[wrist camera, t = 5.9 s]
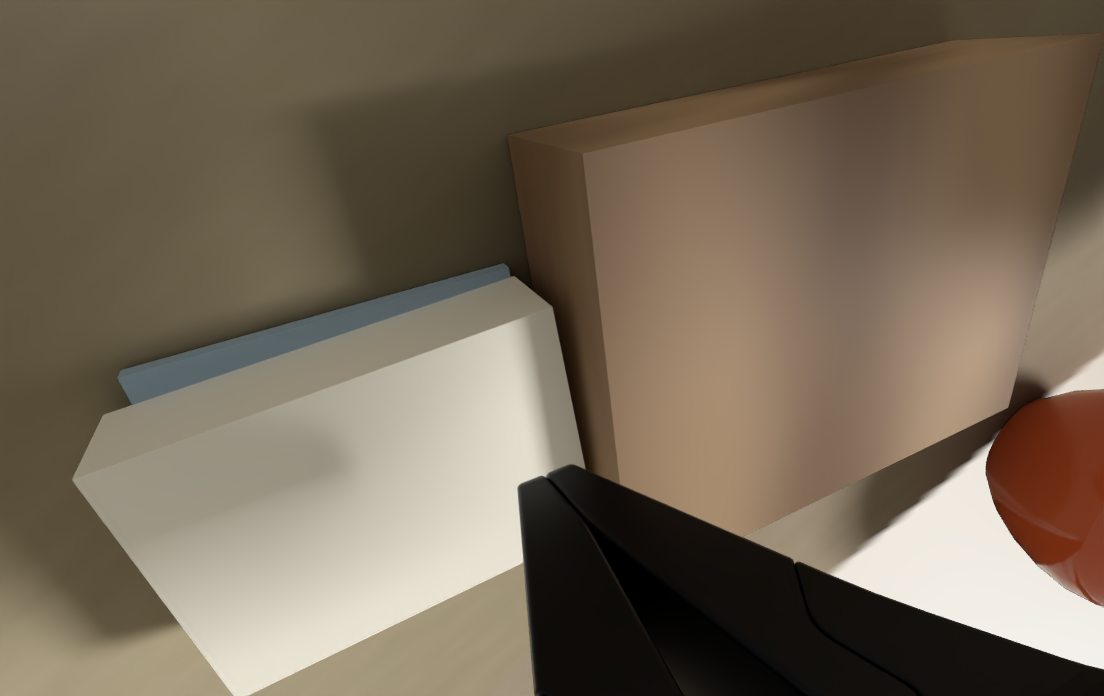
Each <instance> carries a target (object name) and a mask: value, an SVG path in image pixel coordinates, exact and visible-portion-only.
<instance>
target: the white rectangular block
mask: <svg viewBox="0 0 1104 696" xmlns="http://www.w3.org/2000/svg"><path fill="white" fill-rule="evenodd" d="M569 464H574V465H577V466H579V467H581V468H584V469H585V464H584V459H583V454H582V450H581V445H580V440H579V435H578V430H577V425H576V420H575V415H574V410H573V405H572V400H571V396H570V391H569V386H568V381H567V376H566V371H565V366H564V361H563V356H562V351H561V346H560V341H559V337H558V332H557V327H556V322H555V317H554V312H553V307H552V306H551V305H549V304H548V303H547V302H546V301H545V300H543V299H542V298H541V297H540V296H538V295H537V294H536V293H535V292H533V291H532V290H531V289H530V288H528V287H527V286H526V285H525V284H524V283H522V282H521V281H520V280H519V279H517V278H516V277H515V276H513V277H510V278H507V279H504V280H501V281H498V282H495V283H492V284H489V285H486V286H483V287H480V288H477V289H474V290H471V291H468V292H465V293H462V294H459V295H456V296H454V297H451V298H448V299H445V300H442V301H439V302H436V303H433V304H430V305H427V306H424V307H421V308H418V309H415V310H412V311H409V312H406V313H403V314H400V315H397V316H394V317H391V318H388V319H385V320H382V321H380V322H377V323H374V324H371V325H368V326H365V327H362V328H359V329H356V330H353V331H350V332H347V333H344V334H341V335H338V336H335V337H332V338H329V339H326V340H323V341H320V342H317V343H314V344H311V345H308V346H306V347H303V348H300V349H297V350H294V351H291V352H288V353H285V354H282V355H279V356H276V357H273V358H270V359H267V360H264V361H261V362H258V363H255V364H252V365H249V366H246V367H243V368H240V369H237V370H234V371H231V372H229V373H226V374H223V375H220V376H217V377H214V378H211V379H208V380H205V381H202V382H199V383H196V384H193V385H190V386H187V387H184V388H181V389H178V390H175V391H172V392H169V393H166V394H163V395H160V396H157V397H155V398H152V399H149V400H146V401H143V402H140V403H137V404H134V405H131V406H128V407H125V408H122V409H119V410H116V411H113V412H110V413H107V414H104V415H103V416H102V418H101V420H100V422H99V424H98V426H97V429H96V431H95V433H94V435H93V437H92V439H91V441H90V443H89V445H88V447H87V449H86V451H85V453H84V456H83V458H82V460H81V462H80V464H79V466H78V468H77V470H76V472H75V474H74V476H73V478H72V481H73V482H74V484H75V485H76V486H77V488H78V489H79V490H80V492H81V493H82V494H83V496H84V497H85V498H86V500H87V501H88V502H89V504H90V505H91V506H92V508H93V509H94V510H95V512H96V513H97V514H98V516H99V517H100V518H101V520H102V521H103V522H104V524H105V525H106V526H107V528H108V529H109V530H110V532H111V533H112V534H113V536H114V537H115V538H116V540H117V541H118V542H119V544H120V545H121V546H122V548H123V549H124V550H125V552H126V553H127V554H128V556H129V557H130V558H131V560H132V561H133V562H134V564H135V565H136V566H137V568H138V569H139V570H140V572H141V573H142V574H143V576H144V577H145V578H146V580H147V581H148V582H149V584H150V585H151V586H152V588H153V589H154V590H155V592H156V593H157V594H158V596H159V597H160V598H161V600H162V601H163V602H164V604H165V605H166V606H167V608H168V609H169V610H170V612H171V613H172V614H173V616H174V617H175V618H176V620H177V621H178V622H179V624H180V625H181V626H182V628H183V629H184V630H185V632H186V633H187V634H188V636H189V637H190V638H191V640H192V641H193V642H194V644H195V645H196V646H197V648H198V649H199V650H200V652H201V653H202V654H203V656H204V657H205V658H206V660H207V661H208V662H209V664H210V665H211V666H212V668H213V669H214V670H215V672H216V673H217V674H218V676H219V677H220V678H221V680H222V681H223V682H224V684H225V685H226V686H227V688H228V689H229V690H230V692H231V693H232V694H233V696H248V695H250V694H252V693H254V692H256V691H258V690H260V689H262V688H264V687H267V686H269V685H271V684H273V683H275V682H277V681H279V680H281V679H283V678H285V677H287V676H289V675H291V674H293V673H296V672H298V671H300V670H302V669H304V668H306V667H308V666H310V665H312V664H314V663H316V662H318V661H320V660H322V659H325V658H327V657H329V656H331V655H333V654H335V653H337V652H339V651H341V650H343V649H345V648H347V647H349V646H351V645H354V644H356V643H358V642H360V641H362V640H364V639H366V638H368V637H370V636H372V635H374V634H376V633H378V632H380V631H383V630H385V629H387V628H389V627H391V626H393V625H395V624H397V623H399V622H401V621H403V620H405V619H407V618H410V617H412V616H414V615H416V614H418V613H420V612H422V611H424V610H426V609H428V608H430V607H432V606H434V605H436V604H439V603H441V602H443V601H445V600H447V599H449V598H451V597H453V596H455V595H457V594H459V593H461V592H463V591H465V590H468V589H470V588H472V587H474V586H476V585H478V584H480V583H482V582H484V581H486V580H488V579H490V578H492V577H494V576H497V575H499V574H501V573H503V572H505V571H507V570H509V569H511V568H513V567H515V566H517V565H519V564H521V563H523V552H522V540H521V528H520V516H519V504H518V492H517V488H518V485H519V484H521V483H523V482H526V481H528V480H531V479H533V478H536V477H538V476H545V477H546V475H547V474H548V473H549V472H551V471H553V470H556V469H558V468H561V467H563V466H566V465H569Z"/></svg>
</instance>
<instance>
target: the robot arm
mask: <svg viewBox="0 0 1104 696" xmlns="http://www.w3.org/2000/svg"><path fill="white" fill-rule="evenodd" d="M517 492H518V504H519V516H520V528H521V540H522V552H523V564H524V576H525V588H526V600H527V612H528V624H529V636H530V649H531V661H532V673H533V685H534V694H535V696H1104V669H1100V668H1095V667H1092V666H1087V665H1084V664H1081V663H1078V662H1074V661H1071V660H1068V659H1064V658H1061V657H1058V656H1055V655H1052V654H1049V653H1047V652H1043V651H1041V650H1038V649H1034V648H1032V647H1029V646H1026V645H1023V644H1020V643H1017V642H1014V641H1011V640H1008V639H1005V638H1002V637H999V636H996V635H994V634H991V633H988V632H985V631H982V630H979V629H976V628H973V627H970V626H967V625H964V624H961V623H958V622H955V621H952V620H949V619H946V618H944V617H941V616H937V615H935V614H932V613H928V612H926V611H923V610H920V609H918V608H915V607H912V606H909V605H907V604H904V603H901V602H898V601H896V600H893V599H890V598H887V597H884V596H882V595H879V594H876V593H874V592H871V591H869V590H866V589H864V588H861V587H859V586H856V585H854V584H851V583H849V582H846V581H844V580H842V579H839V578H837V577H834V576H832V575H829V574H827V573H825V572H822V571H820V570H818V569H815V568H813V567H811V566H808V565H806V564H804V563H802V562H796V563H795V564H794V561H793V559H791V558H789V557H787V556H785V555H782V554H780V553H778V552H776V551H773V550H771V549H769V548H766V547H764V546H762V545H759V544H757V543H755V542H752V541H750V540H748V539H745V538H743V537H741V536H739V535H736V534H734V533H732V532H729V531H727V530H725V529H722V528H720V527H718V526H715V525H713V524H711V523H709V522H706V521H704V520H702V519H699V518H697V517H695V516H692V515H690V514H688V513H685V512H683V511H681V510H678V509H676V508H674V507H672V506H669V505H667V504H665V503H662V502H660V501H658V500H655V499H653V498H651V497H648V496H646V495H644V494H641V493H639V492H637V491H635V490H632V489H630V488H628V487H625V486H623V485H621V484H618V483H616V482H614V481H611V480H609V479H607V478H604V477H602V476H600V475H598V474H595V473H593V472H591V471H588V470H586V469H584V468H581V467H579V466H577V465H574V464H569V465H566V466H563V467H561V468H558V469H556V470H553V471H551V472H549V473H548V474H547V475H546V477H545V476H538V477H536V478H533V479H531V480H528V481H526V482H523V483H521V484H519V485H518V488H517Z"/></svg>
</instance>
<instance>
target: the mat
mask: <svg viewBox="0 0 1104 696" xmlns="http://www.w3.org/2000/svg"><path fill="white" fill-rule="evenodd" d="M507 278H510V272H509V267H508V266H506V265H505V264H504V263H502V264H498V265H495V266H491V267H488V268H484V269H481V270H477V271H473V272H470V273H466V274H463V275H459V276H455V277H452V278H448V279H445V280H441V281H438V282H434V283H430V284H427V285H423V286H420V287H416V288H413V289H409V290H405V291H402V292H398V293H395V294H391V295H388V296H384V297H380V298H377V299H373V300H370V301H366V302H363V303H359V304H355V305H352V306H348V307H345V308H341V309H338V310H334V311H330V312H327V313H323V314H320V315H316V316H313V317H309V318H305V319H302V320H298V321H295V322H291V323H288V324H284V325H280V326H277V327H273V328H270V329H266V330H263V331H259V332H255V333H252V334H248V335H245V336H241V337H237V338H234V339H230V340H227V341H223V342H220V343H216V344H212V345H209V346H205V347H202V348H198V349H195V350H191V351H187V352H184V353H180V354H177V355H173V356H170V357H166V358H162V359H159V360H155V361H152V362H148V363H145V364H141V365H137V366H134V367H130V368H127V369H123V370H121V371H120V373H119V375H118V377H117V379H118V381H119V382H120V384H121V386H122V388H123V390H124V391H125V393H126V395H127V397H128V398H129V400H130V402H131V404H132V405H134V404H137V403H140V402H143V401H146V400H149V399H152V398H155V397H157V396H160V395H163V394H166V393H169V392H172V391H175V390H178V389H181V388H184V387H187V386H190V385H193V384H196V383H199V382H202V381H205V380H208V379H211V378H214V377H217V376H220V375H223V374H226V373H229V372H231V371H234V370H237V369H240V368H243V367H246V366H249V365H252V364H255V363H258V362H261V361H264V360H267V359H270V358H273V357H276V356H279V355H282V354H285V353H288V352H291V351H294V350H297V349H300V348H303V347H306V346H308V345H311V344H314V343H317V342H320V341H323V340H326V339H329V338H332V337H335V336H338V335H341V334H344V333H347V332H350V331H353V330H356V329H359V328H362V327H365V326H368V325H371V324H374V323H377V322H380V321H382V320H385V319H388V318H391V317H394V316H397V315H400V314H403V313H406V312H409V311H412V310H415V309H418V308H421V307H424V306H427V305H430V304H433V303H436V302H439V301H442V300H445V299H448V298H451V297H454V296H456V295H459V294H462V293H465V292H468V291H471V290H474V289H477V288H480V287H483V286H486V285H489V284H492V283H495V282H498V281H501V280H504V279H507Z"/></svg>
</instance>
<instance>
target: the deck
mask: <svg viewBox="0 0 1104 696" xmlns="http://www.w3.org/2000/svg"><path fill="white" fill-rule="evenodd" d="M1103 40H1104V33H1087V34H1067V35H1048V36H1028V37H1009V38H989V39H970V40H952V41H947V42H942V43H938V44H933V45H928V46H924V47H919V48H914V49H909V50H905V51H900V52H895V53H891V54H886V55H881V56H876V57H872V58H867V59H862V60H858V61H853V62H848V63H843V64H839V65H834V66H829V67H825V68H820V69H815V70H811V71H806V72H801V73H796V74H792V75H787V76H782V77H778V78H773V79H768V80H763V81H759V82H754V83H749V84H745V85H740V86H735V87H730V88H726V89H721V90H716V91H712V92H707V93H702V94H697V95H693V96H688V97H683V98H679V99H674V100H669V101H665V102H660V103H655V104H650V105H646V106H641V107H636V108H632V109H627V110H622V111H617V112H613V113H608V114H603V115H599V116H594V117H589V118H584V119H580V120H575V121H570V122H566V123H561V124H556V125H552V126H547V127H542V128H537V129H533V130H528V131H523V132H519V133H514V134H509V135H507V138H508V144H509V150H510V155H511V161H512V167H513V173H514V179H515V185H516V191H517V197H518V203H519V209H520V215H521V221H522V227H523V233H524V239H525V245H526V250H527V256H528V262H529V268H530V274H531V280H532V286H533V292H535V293H536V294H537V295H538V296H540V297H541V298H542V299H543V300H545V301H546V302H547V303H548V304H549V305H551V306H552V307H553V312H554V317H555V322H556V327H557V332H558V337H559V341H560V346H561V351H562V356H563V361H564V366H565V371H566V376H567V381H568V386H569V391H570V396H571V400H572V405H573V410H574V415H575V420H576V425H577V430H578V435H579V440H580V445H581V450H582V454H583V459H584V464H585V469H586V470H588V471H591V472H593V473H595V474H598V475H600V476H602V477H604V478H607V479H609V480H611V481H614V482H616V483H618V484H621V485H623V486H625V487H628V488H630V489H632V490H635V491H637V492H639V493H641V494H644V495H646V496H648V497H651V498H653V499H655V500H658V501H660V502H662V503H665V504H667V505H669V506H672V507H674V508H676V509H678V510H681V511H683V512H685V513H688V514H690V515H692V516H695V517H697V518H699V519H702V520H704V521H706V522H709V523H711V524H713V525H715V526H718V527H720V528H722V529H725V530H727V531H729V532H732V533H734V534H736V535H739V536H741V537H743V536H746V535H748V534H750V533H752V532H754V531H756V530H758V529H760V528H762V527H764V526H766V525H768V524H770V523H772V522H774V521H776V520H778V519H780V518H783V517H785V516H787V515H789V514H791V513H793V512H795V511H797V510H799V509H801V508H803V507H805V506H807V505H809V504H811V503H813V502H815V501H817V500H820V499H822V498H824V497H826V496H828V495H830V494H832V493H834V492H836V491H838V490H840V489H842V488H844V487H846V486H848V485H850V484H852V483H854V482H857V481H859V480H861V479H863V478H865V477H867V476H869V475H871V474H873V473H875V472H877V471H879V470H881V469H883V468H885V467H887V466H889V465H891V464H894V463H896V462H898V461H900V460H902V459H904V458H906V457H908V456H910V455H912V454H914V453H916V452H918V451H920V450H922V449H924V448H926V447H928V446H931V445H933V444H935V443H937V442H939V441H941V440H943V439H945V438H947V437H949V436H951V435H953V434H955V433H957V432H959V431H961V430H963V429H965V428H968V427H970V426H972V425H974V424H976V423H978V422H980V421H982V420H984V419H986V418H988V417H990V416H992V415H994V414H996V413H998V412H1000V411H1002V410H1005V409H1007V408H1008V407H1009V403H1010V399H1011V395H1012V391H1013V387H1014V383H1015V380H1016V376H1017V372H1018V368H1019V364H1020V360H1021V356H1022V353H1023V349H1024V345H1025V341H1026V337H1027V333H1028V329H1029V326H1030V322H1031V318H1032V314H1033V310H1034V306H1035V302H1036V298H1037V295H1038V291H1039V287H1040V283H1041V279H1042V275H1043V271H1044V268H1045V264H1046V260H1047V256H1048V252H1049V248H1050V244H1051V241H1052V237H1053V233H1054V229H1055V225H1056V221H1057V217H1058V213H1059V210H1060V206H1061V202H1062V198H1063V194H1064V190H1065V186H1066V183H1067V179H1068V175H1069V171H1070V167H1071V163H1072V159H1073V156H1074V152H1075V148H1076V144H1077V140H1078V136H1079V132H1080V129H1081V125H1082V121H1083V117H1084V113H1085V109H1086V105H1087V101H1088V98H1089V94H1090V90H1091V86H1092V82H1093V78H1094V74H1095V71H1096V67H1097V63H1098V59H1099V55H1100V51H1101V47H1102V44H1103Z"/></svg>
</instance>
